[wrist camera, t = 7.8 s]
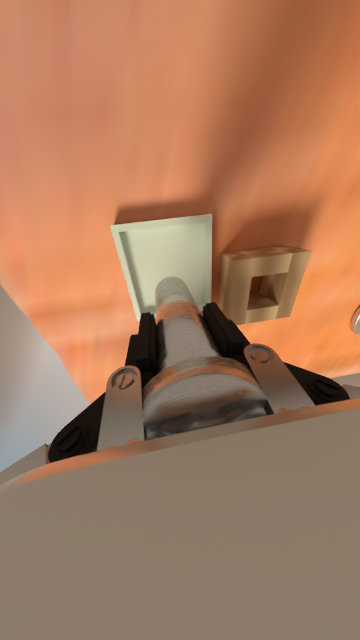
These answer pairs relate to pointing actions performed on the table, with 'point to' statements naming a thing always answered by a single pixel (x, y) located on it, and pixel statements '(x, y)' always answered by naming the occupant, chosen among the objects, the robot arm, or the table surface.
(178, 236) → the tray
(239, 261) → the square wooden holder
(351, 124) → the table surface
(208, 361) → the pin
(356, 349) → the table surface
